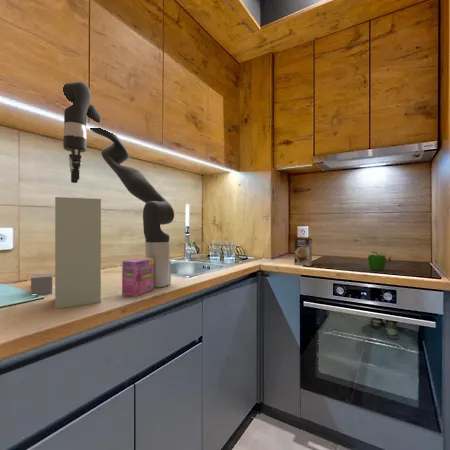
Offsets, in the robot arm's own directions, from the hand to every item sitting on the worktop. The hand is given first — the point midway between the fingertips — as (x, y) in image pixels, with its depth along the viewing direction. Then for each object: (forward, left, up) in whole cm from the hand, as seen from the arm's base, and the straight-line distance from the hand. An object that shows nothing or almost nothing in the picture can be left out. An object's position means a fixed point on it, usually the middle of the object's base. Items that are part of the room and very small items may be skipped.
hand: (75, 181), depth 103 cm
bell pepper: (-104, +99, -40) cm, 149 cm away
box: (-8, +24, -40) cm, 48 cm away
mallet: (+5, -12, -40) cm, 42 cm away
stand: (+9, +15, -40) cm, 44 cm away
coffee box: (-105, +60, -40) cm, 127 cm away
